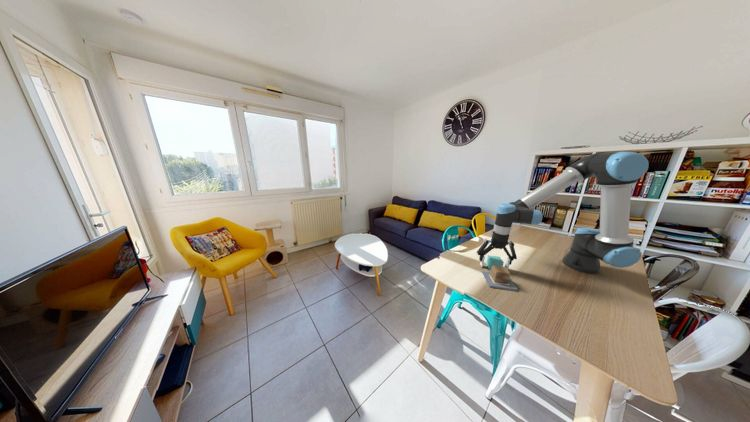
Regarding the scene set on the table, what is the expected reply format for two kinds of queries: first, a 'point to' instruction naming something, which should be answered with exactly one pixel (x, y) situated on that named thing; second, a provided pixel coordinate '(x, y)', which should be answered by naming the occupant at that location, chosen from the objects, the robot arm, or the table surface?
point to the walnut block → (500, 274)
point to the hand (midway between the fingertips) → (493, 267)
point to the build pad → (499, 285)
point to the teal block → (494, 261)
